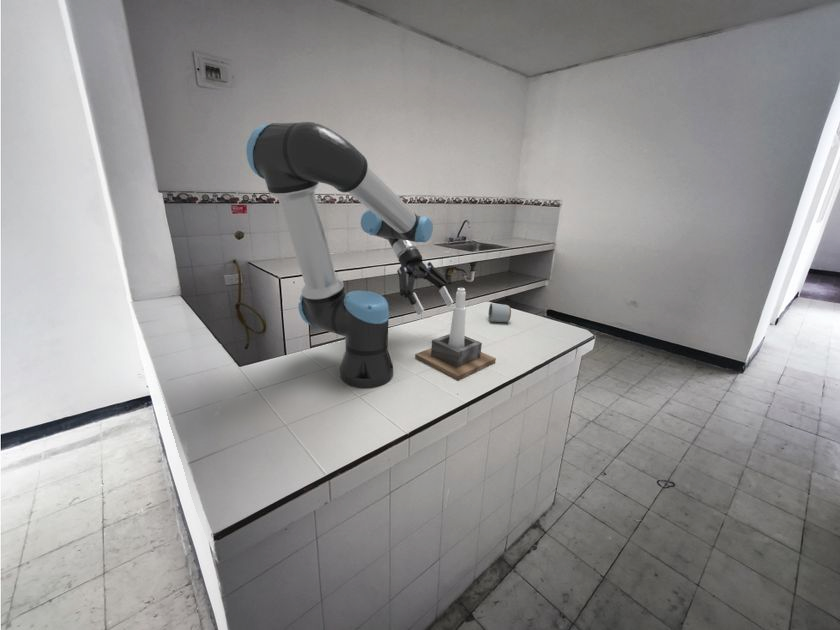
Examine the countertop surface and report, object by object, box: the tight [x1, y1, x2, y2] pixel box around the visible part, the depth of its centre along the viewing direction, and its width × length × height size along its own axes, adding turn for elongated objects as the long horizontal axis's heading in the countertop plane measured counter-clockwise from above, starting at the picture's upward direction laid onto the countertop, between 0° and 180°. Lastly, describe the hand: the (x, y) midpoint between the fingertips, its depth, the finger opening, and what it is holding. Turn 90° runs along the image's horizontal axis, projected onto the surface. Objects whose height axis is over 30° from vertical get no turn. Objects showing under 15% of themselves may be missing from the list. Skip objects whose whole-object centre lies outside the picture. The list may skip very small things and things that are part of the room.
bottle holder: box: [414, 333, 497, 381], centre depth 115 cm, size 18×18×6 cm
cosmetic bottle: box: [448, 287, 467, 349], centre depth 112 cm, size 6×6×22 cm
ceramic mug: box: [487, 302, 512, 323], centre depth 153 cm, size 11×8×8 cm
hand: (436, 308), depth 118 cm, fingers open, 13 cm apart
